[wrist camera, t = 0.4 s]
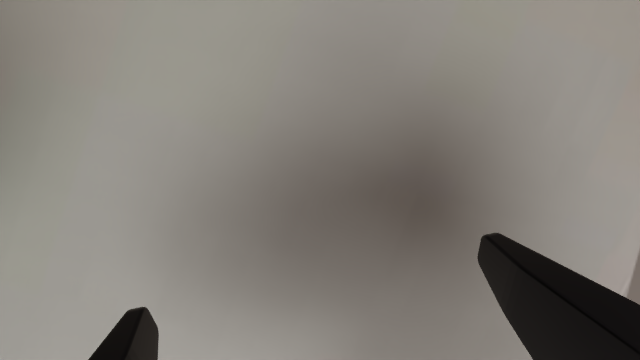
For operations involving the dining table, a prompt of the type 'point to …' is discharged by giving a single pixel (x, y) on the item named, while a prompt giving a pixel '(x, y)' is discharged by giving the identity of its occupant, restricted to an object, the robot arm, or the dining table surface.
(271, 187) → the dining table surface
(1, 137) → the dining table surface
